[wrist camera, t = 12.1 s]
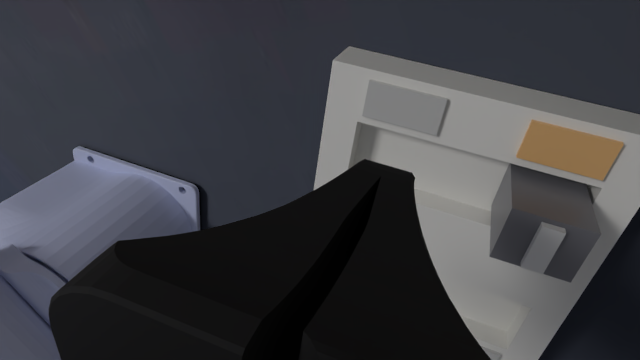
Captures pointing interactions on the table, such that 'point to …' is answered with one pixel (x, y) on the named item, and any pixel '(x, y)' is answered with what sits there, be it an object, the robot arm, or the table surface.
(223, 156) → the table surface
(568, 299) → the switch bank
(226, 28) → the table surface
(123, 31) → the table surface
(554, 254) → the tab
